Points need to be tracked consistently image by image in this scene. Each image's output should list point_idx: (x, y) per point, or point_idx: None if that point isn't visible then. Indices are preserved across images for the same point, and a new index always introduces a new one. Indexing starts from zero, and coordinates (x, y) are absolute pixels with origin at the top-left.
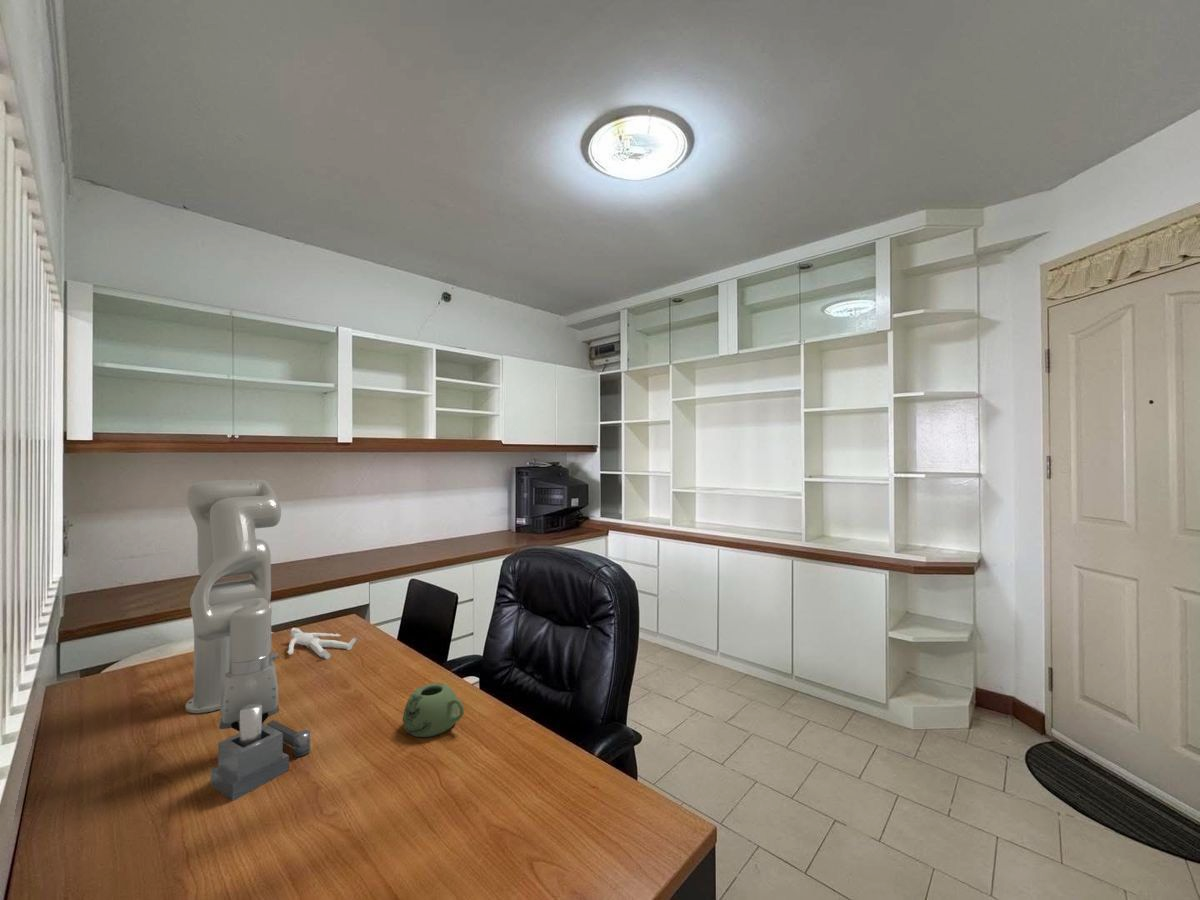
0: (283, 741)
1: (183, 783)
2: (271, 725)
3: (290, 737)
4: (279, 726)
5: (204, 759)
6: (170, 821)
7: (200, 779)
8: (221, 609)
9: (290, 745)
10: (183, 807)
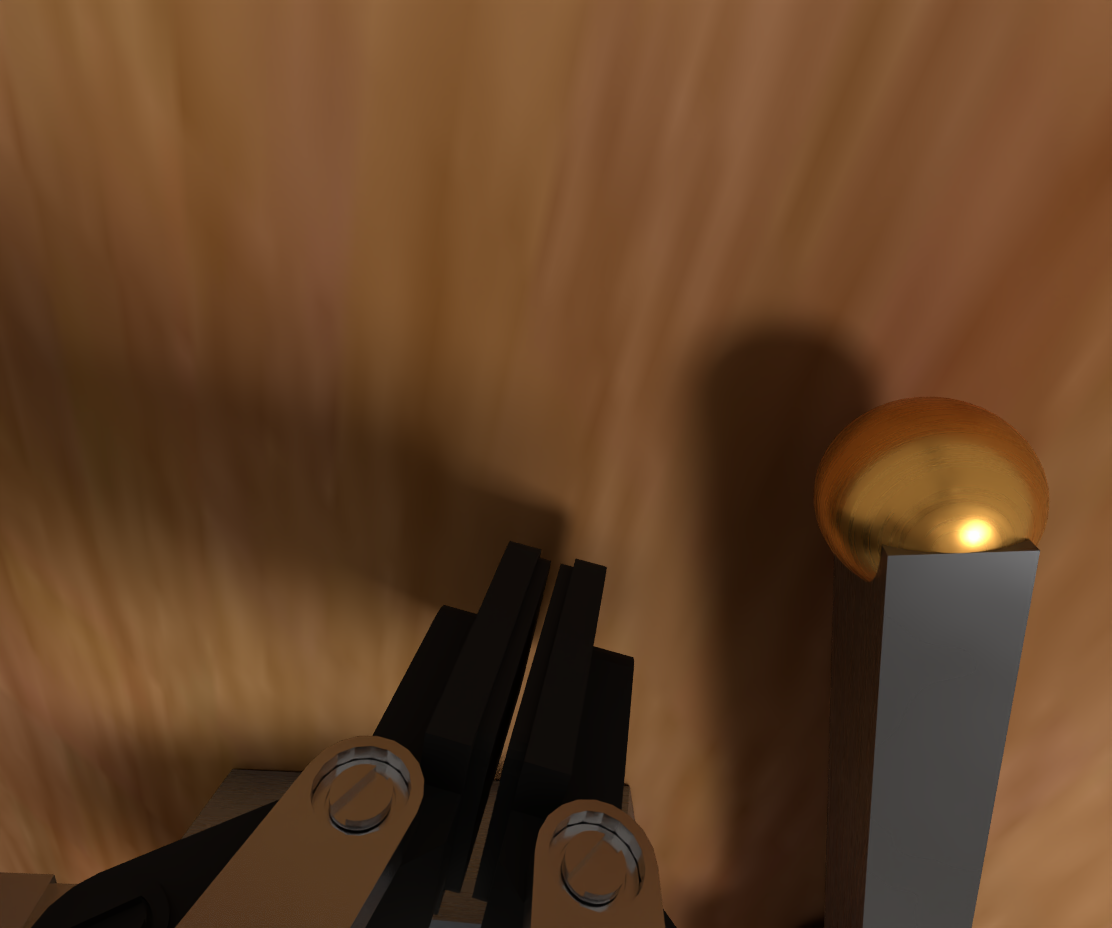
0: (830, 820)
1: (53, 589)
2: (875, 705)
3: None
4: (921, 833)
5: (156, 310)
6: (74, 873)
7: (163, 644)
8: None
9: (824, 919)
10: (111, 829)
